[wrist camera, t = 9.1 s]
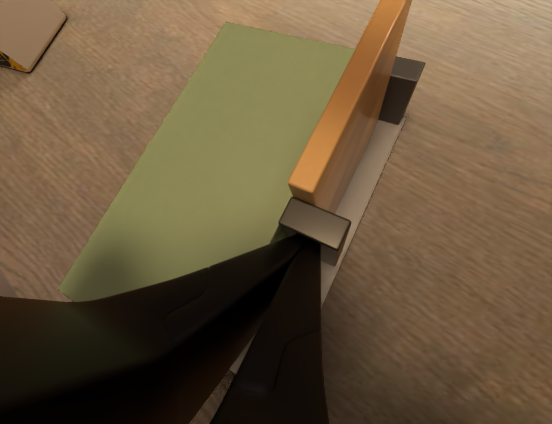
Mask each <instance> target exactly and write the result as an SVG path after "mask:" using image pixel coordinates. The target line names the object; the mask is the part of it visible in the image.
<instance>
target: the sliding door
mask: <svg viewBox="0 0 552 424" xmlns="http://www.w3.org/2000/svg"><path fill="white" fill-rule="evenodd" d="M411 1H412V0H380V2H379V4H378V6H377V8H376V10H375V12H374V14H373V16H372V17H371V19H370V21H369V23H368V25H367V27H366V29H365V31H364V33H363V35H362V37H361V39H360V41H359V43H358V45H357V47H356V49H355V51H354V53H353V55H352V57H351V59H350V61H349V62H348V64H347V66H346V68H345V70H344V72H343V74H342V76H341V78H340V80H339V82H338V84H337V86H336V88H335V90H334V92H333V94H332V96H331V98H330V100H329V102H328V104H327V106H326V107H325V109H324V111H323V113H322V115H321V117H320V119H319V121H318V123H317V125H316V127H315V129H314V131H313V133H312V135H311V137H310V139H309V141H308V143H307V145H306V147H305V149H304V151H303V152H302V154H301V156H300V158H299V160H298V162H297V164H296V166H295V168H294V170H293V172H292V174H291V176H290V178H289V180H288V186H289V188H290V191H291V193H292V195H293V197H291V198H290V200H289V202H288V204H287V206H286V208H285V210H284V212H283V214H282V216H281V218H280V219H279V221H278V224H279V225H280V226H281V228H282V229H283V230H284V231H285V233H286V234H287V235H288V236H292V235H295V234H297V235H300V236H302V237H304V238H306V239H308V240H310V241H313V242H315V243H317V244H319V245H321V261H323V262H325V263H327V264H329V265H331V266H334V267H335V266H336V264H337V261H338V259H339V257H340V255H341V253H342V250H343V247H344V244H345V241H346V238H347V235H348V232H349V229H350V226H351V221H350V220H348V219H346V218H344V217H341V216H339V215H336V214H335V213H336V210H337V208H338V206H339V204H340V202H341V200H342V197H343V195H344V193H345V191H346V189H347V187H348V185H349V182H350V180H351V178H352V176H353V174H354V172H355V170H356V167H357V165H358V163H359V161H360V159H361V157H362V155H363V152H364V150H365V148H366V146H367V144H368V142H369V140H370V137H371V135H372V133H373V131H374V129H375V127H376V125H377V121H378V118H379V114H380V111H381V107H382V103H383V100H384V96H385V93H386V89H387V86H388V82H389V79H390V75H391V72H392V68H393V65H394V61H395V58H396V54H397V51H398V47H399V44H400V40H401V37H402V33H403V30H404V26H405V23H406V19H407V16H408V12H409V8H410V5H411Z"/></svg>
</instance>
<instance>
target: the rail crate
mask: <svg viewBox="0 0 552 424" xmlns="http://www.w3.org/2000/svg"><path fill="white" fill-rule="evenodd" d="M354 51H355V49H354V48H349V47H344V46H340V45H335V44H330V43H325V42H321V41H316V40H311V39H306V38H302V37H297V36H292V35H287V34H283V33H278V32H273V31H268V30H264V29H259V28H254V27H249V26H245V25H240V24H235V23H230V22H225V24H224V25H223V27H222V28H221V30H220V32H219V33H218V35H217V36H216V38H215V39H214V41H213V43H212V44H211V46H210V47H209V49H208V51H207V52H206V54H205V55H204V57H203V59H202V60H201V62H200V63H199V65H198V66H197V68H196V70H195V71H194V73H193V74H192V76H191V78H190V79H189V81H188V82H187V84H186V86H185V87H184V89H183V90H182V92H181V93H180V95H179V97H178V98H177V100H176V101H175V103H174V105H173V106H172V108H171V109H170V111H169V113H168V114H167V116H166V117H165V119H164V120H163V122H162V124H161V125H160V127H159V128H158V130H157V132H156V133H155V135H154V136H153V138H152V140H151V141H150V143H149V144H148V146H147V148H146V149H145V151H144V152H143V154H142V155H141V157H140V159H139V160H138V162H137V163H136V165H135V167H134V168H133V170H132V171H131V173H130V175H129V176H128V178H127V179H126V181H125V182H124V184H123V186H122V187H121V189H120V190H119V192H118V194H117V195H116V197H115V198H114V200H113V202H112V203H111V205H110V206H109V208H108V209H107V211H106V213H105V214H104V216H103V217H102V219H101V221H100V222H99V224H98V225H97V227H96V229H95V230H94V232H93V233H92V235H91V236H90V238H89V240H88V241H87V243H86V244H85V246H84V248H83V249H82V251H81V252H80V254H79V256H78V257H77V259H76V260H75V262H74V263H73V265H72V267H71V268H70V270H69V271H68V273H67V275H66V276H65V278H64V279H63V281H62V283H61V284H60V286H59V287H58V290H59V291H60V292H62V293H63V294H64V295H66V296H67V297H68V298H69V299H71V300H72V301H73V302H82V301H90V300H96V299H101V298H105V297H109V296H113V295H116V294H120V293H124V292H127V291H131V290H135V289H138V288H142V287H146V286H150V285H153V284H157V283H160V282H164V281H167V280H171V279H174V278H177V277H180V276H183V275H186V274H189V273H192V272H195V271H198V270H200V269H203V268H206V267H208V268H209V267H210V266H211V265H214V264H217V263H219V262H222V261H225V260H228V259H230V258H233V257H236V256H238V255H241V254H244V253H246V252H249V251H252V250H254V249H257V248H260V247H262V246H265V245H268V244H271V243H273V242H276V241H279V240H281V239H284V238H287V237H289V236H288V235H287V234H286V233H285V231H284V230H283V229H282V228H281V226H280V225H279V224H278V221H279V219H280V218H281V216H282V214H283V212H284V210H285V208H286V206H287V204H288V202H289V200H290V198H291V197H293V195H292V193H291V191H290V188H289V186H288V180H289V178H290V176H291V174H292V172H293V170H294V168H295V166H296V164H297V162H298V160H299V158H300V156H301V154H302V152H303V151H304V149H305V147H306V145H307V143H308V141H309V139H310V137H311V135H312V133H313V131H314V129H315V127H316V125H317V123H318V121H319V119H320V117H321V115H322V113H323V111H324V109H325V107H326V106H327V104H328V102H329V100H330V98H331V96H332V94H333V92H334V90H335V88H336V86H337V84H338V82H339V80H340V78H341V76H342V74H343V72H344V70H345V68H346V66H347V64H348V62H349V61H350V59H351V57H352V55H353V53H354ZM424 66H425V63H424V62H420V61H415V60H411V59H406V58H401V57H396V58H395V61H394V65H393V68H392V72H391V75H390V79H389V82H388V86H387V89H386V93H385V96H384V100H383V103H382V107H381V111H380V114H379V118H378V121H377V125H376V127H375V129H374V131H373V133H372V135H371V137H370V140H369V142H368V144H367V146H366V148H365V150H364V152H363V155H362V157H361V159H360V161H359V163H358V165H357V167H356V170H355V172H354V174H353V176H352V178H351V180H350V182H349V185H348V187H347V189H346V191H345V193H344V195H343V197H342V200H341V202H340V204H339V206H338V208H337V210H336V213H335V214H336V215H339V216H341V217H344V218H346V219H348V220H350V221H351V226H350V229H349V232H348V235H347V238H346V241H345V244H344V247H343V250H342V253H341V255H340V257H339V259H338V261H337V264H336V266H335V267H334V266H331V265H329V264H327V263H325V262H323V261H321V308H322V305H323V303H324V301H325V299H326V296H327V294H328V292H329V290H330V287H331V285H332V283H333V281H334V278H335V276H336V274H337V272H338V269H339V267H340V265H341V263H342V260H343V258H344V256H345V254H346V251H347V249H348V247H349V245H350V243H351V240H352V238H353V236H354V234H355V231H356V229H357V227H358V225H359V222H360V220H361V218H362V216H363V213H364V211H365V209H366V207H367V204H368V202H369V200H370V198H371V195H372V193H373V191H374V189H375V186H376V184H377V182H378V180H379V177H380V175H381V173H382V171H383V168H384V166H385V164H386V162H387V160H388V157H389V155H390V153H391V151H392V148H393V146H394V144H395V142H396V139H397V137H398V135H399V133H400V130H401V128H402V126H403V124H404V121H405V118H403V115H404V113H405V111H406V108H407V106H408V104H409V101H410V99H411V97H412V94H413V92H414V90H415V87H416V85H417V82H418V80H419V78H420V75H421V73H422V71H423V68H424ZM254 336H255V335H254ZM254 336H253V338H254ZM253 338H252V339H251V340H250V342H249V343H248V344H247V346H246V347H245V348H244V350H243V351H242V353H241V354H240V355H239V357H238V358H237V359H236V361H235V362H234V363H233V365H232V366H231V367H230V369H229V370H230V371H232V372H233V373H235V374H236V373H237V371H238V369H239V366H240V364H241V362H242V360H243V358H244V356H245V354H246V352H247V350H248V348H249V346H250V344H251V342H252V340H253Z"/></svg>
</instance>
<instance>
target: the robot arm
mask: <svg viewBox="0 0 552 424" xmlns="http://www.w3.org/2000/svg"><path fill="white" fill-rule="evenodd" d="M254 335H255V336H254ZM253 336H254V338H253ZM252 338H253V340H252V342H251V344H250V346H249V348H248V350H247V352H246V354H245V356H244V358H243V360H242V362H241V364H240V366H239V369H238V371H237V373H236V375H235V377H234V379H233V381H232V383H231V385H230V388H229V389H228V391H227V393H226V395H225V397H224V399H223V401H222V403H221V405H220V406H219V408H218V410H217V412H216V414H215V415H214V417H213V419H212V421H211V422H210V424H329V418H328V411H327V404H326V396H325V388H324V378H323V369H322V348H321V245H319V244H317V243H315V242H313V241H310V240H308V239H306V238H304V237H302V236H300V235H297V234H295V235H292V236H289V237H287V238H284V239H281V240H279V241H276V242H273V243H271V244H268V245H265V246H262V247H260V248H257V249H254V250H252V251H249V252H246V253H244V254H241V255H238V256H236V257H233V258H230V259H228V260H225V261H222V262H219V263H217V264H214V265H211V266H210V267H209V268H208V267H206V268H203V269H200V270H198V271H195V272H192V273H189V274H186V275H183V276H180V277H177V278H174V279H171V280H167V281H164V282H160V283H157V284H153V285H150V286H146V287H142V288H138V289H135V290H131V291H127V292H124V293H120V294H116V295H113V296H109V297H105V298H101V299H96V300H90V301H82V302H60V301H48V300H37V299H25V298H14V297H13V298H12V297H2V296H0V424H189V423H190V422H191V420H192V419H193V418H194V416H195V415H196V414H197V412H198V411H199V409H200V408H201V407H202V405H203V404H204V403H205V401H206V400H207V399H208V397H209V396H210V395H211V393H212V392H213V390H214V389H215V388H216V386H217V385H218V384H219V382H220V381H221V380H222V378H223V377H224V376H225V374H226V373H227V371H228V370H229V369H230V367H231V366H232V365H233V363H234V362H235V361H236V359H237V358H238V357H239V355H240V354H241V353H242V351H243V350H244V348H245V347H246V346H247V344H248V343H249V342H250V340H251V339H252Z"/></svg>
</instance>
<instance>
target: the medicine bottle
mask: <svg viewBox="0 0 552 424" xmlns="http://www.w3.org/2000/svg"><path fill="white" fill-rule="evenodd" d="M65 20H66V16H65V14H64V13H63V12H62V11H61V10H60V9H59V8H58V7H57V6H56V5H55V4H54V3H53V2H52V1H51V0H0V66H4V67H8V68H12V69H16V70H20V71H24V72H30V71H31V70H32V69H33V67H34V66H35V64H36V63H37V61H38V60H39V58H40V57H41V55H42V54H43V52H44V51H45V49H46V48H47V46H48V45H49V43H50V42H51V40H52V39H53V37H54V36H55V34H56V33H57V31H58V30H59V29H60V27H61V26H62V24H63V23H64V21H65Z"/></svg>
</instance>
